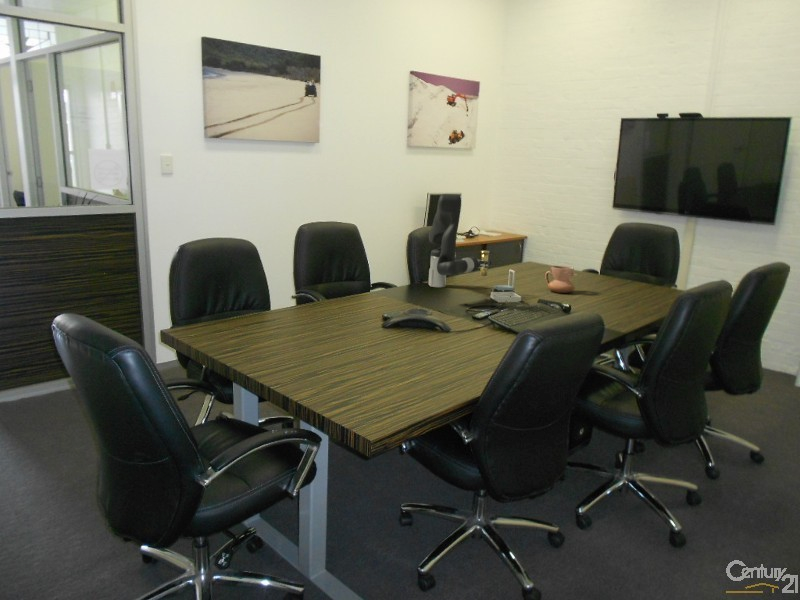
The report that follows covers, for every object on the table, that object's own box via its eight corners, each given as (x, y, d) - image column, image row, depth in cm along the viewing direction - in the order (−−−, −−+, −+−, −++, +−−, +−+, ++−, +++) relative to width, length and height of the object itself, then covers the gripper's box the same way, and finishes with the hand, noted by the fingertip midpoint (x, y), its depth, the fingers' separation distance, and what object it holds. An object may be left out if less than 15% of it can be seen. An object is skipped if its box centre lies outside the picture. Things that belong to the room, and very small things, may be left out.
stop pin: (480, 276, 310) (482, 251, 307) (478, 274, 315) (479, 250, 312) (489, 276, 311) (490, 251, 308) (486, 274, 316) (487, 250, 313)
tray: (498, 302, 300) (498, 297, 299) (490, 297, 311) (490, 292, 311) (520, 302, 302) (521, 296, 301) (512, 296, 314) (512, 291, 313)
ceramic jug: (580, 292, 332) (582, 267, 329) (570, 295, 320) (572, 269, 318) (549, 288, 342) (551, 263, 340) (539, 291, 331) (541, 266, 328)
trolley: (497, 296, 313) (499, 271, 310) (492, 293, 320) (494, 269, 317) (514, 296, 315) (516, 271, 312) (509, 293, 322) (511, 269, 319)
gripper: (479, 259, 296) (499, 256, 308) (457, 255, 305) (477, 253, 317) (478, 274, 297) (498, 270, 309) (456, 270, 307) (476, 266, 319)
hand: (487, 261), depth 313 cm, fingers closed on stop pin, 3 cm apart
